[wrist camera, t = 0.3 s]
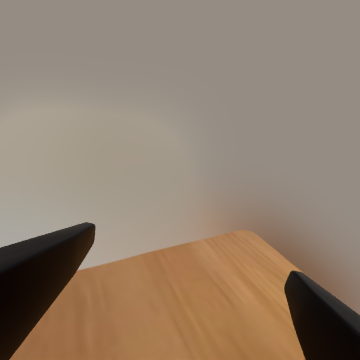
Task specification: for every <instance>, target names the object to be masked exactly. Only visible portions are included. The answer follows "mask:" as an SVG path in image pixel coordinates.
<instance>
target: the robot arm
mask: <svg viewBox="0 0 360 360" xmlns="http://www.w3.org/2000/svg"><path fill="white" fill-rule="evenodd" d="M94 238H95V225H94V224H92V223H87V222H85V223H82V224H78V225H75V226H72V227H68V228H65V229H62V230H58V231H55V232H52V233H48V234H45V235H42V236H38V237H35V238H31V239H28V240H25V241H21V242H18V243H15V244H11V245H8V246H5V247H1V248H0V360H9V359H10V358H11V357H12V355H13V354H14V353H15V351H16V350H17V349H18V348H19V346H20V345H21V344H22V342H23V341H24V340H25V338H26V337H27V336H28V334H29V333H30V332H31V331H32V329H33V328H34V327H35V325H36V324H37V323H38V321H39V320H40V319H41V318H42V316H43V315H44V314H45V312H46V311H47V310H48V308H49V307H50V306H51V304H52V303H53V302H54V301H55V299H56V298H57V297H58V295H59V294H60V293H61V291H62V290H63V289H64V287H65V286H66V285H67V284H68V282H69V281H70V280H71V278H72V277H73V276H74V274H75V273H76V271H77V270H78V268H79V266H80V265H81V263H82V261H83V260H84V258H85V257H86V255H87V253H88V252H89V250H90V248H91V247H92V245H93V243H94ZM284 290H285V294H286V298H287V302H288V306H289V310H290V314H291V317H292V321H293V325H294V328H295V331H296V334H297V337H298V340H299V342H300V345H301V348H302V351H303V354H304V356H305V359H306V360H360V315H359V314H357V313H356V312H355V311H353V310H352V309H351V308H349V307H348V306H347V305H345V304H344V303H343V302H341V301H340V300H339V299H337V298H336V297H335V296H333V295H332V294H330V293H329V292H328V291H326V290H325V289H324V288H322V287H321V286H320V285H318V284H317V283H316V282H314V281H313V280H312V279H310V278H309V277H308V276H306V275H305V274H304V273H302V272H298V271H291V272H290V274H289V276H288V279H287V281H286V283H285V287H284Z"/></svg>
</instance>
